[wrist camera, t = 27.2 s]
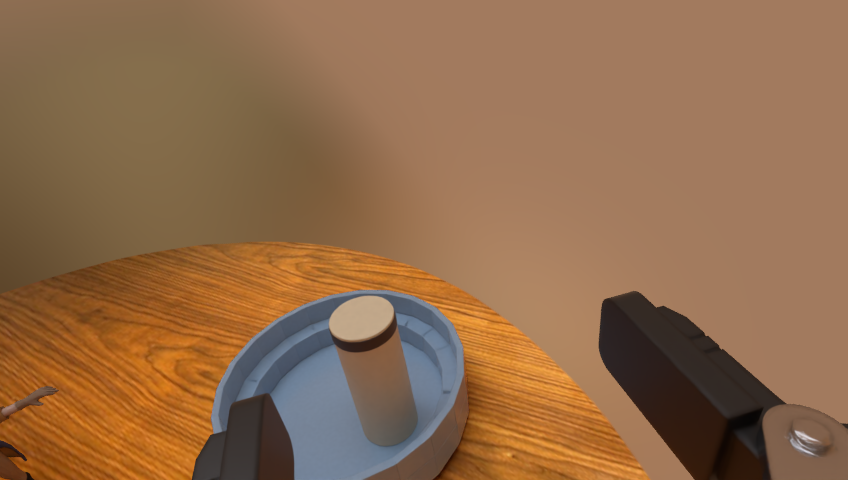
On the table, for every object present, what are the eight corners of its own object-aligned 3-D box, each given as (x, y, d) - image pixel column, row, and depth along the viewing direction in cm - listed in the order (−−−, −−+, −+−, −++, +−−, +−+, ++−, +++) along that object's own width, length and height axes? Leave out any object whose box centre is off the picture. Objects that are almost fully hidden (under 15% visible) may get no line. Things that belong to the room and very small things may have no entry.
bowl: (434, 308, 53) (428, 269, 50) (507, 481, 35) (503, 436, 32) (247, 359, 50) (229, 321, 47) (220, 576, 32) (187, 535, 29)
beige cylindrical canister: (411, 391, 42) (388, 288, 36) (424, 436, 38) (400, 329, 32) (359, 407, 41) (326, 304, 35) (366, 454, 37) (330, 348, 31)
